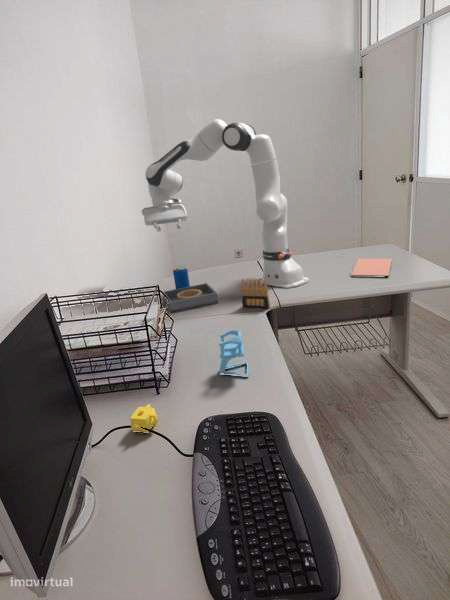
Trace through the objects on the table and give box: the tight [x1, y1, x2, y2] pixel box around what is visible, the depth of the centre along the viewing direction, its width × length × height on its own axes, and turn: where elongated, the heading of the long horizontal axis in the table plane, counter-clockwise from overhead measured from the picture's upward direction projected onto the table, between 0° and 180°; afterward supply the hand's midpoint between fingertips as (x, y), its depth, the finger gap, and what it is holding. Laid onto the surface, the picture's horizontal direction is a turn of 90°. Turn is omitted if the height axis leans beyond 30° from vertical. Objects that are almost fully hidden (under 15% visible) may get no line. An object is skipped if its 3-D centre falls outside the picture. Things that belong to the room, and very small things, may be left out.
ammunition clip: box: [241, 278, 271, 310], centre depth 157 cm, size 11×2×12 cm, turn 69°
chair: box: [218, 330, 250, 375], centre depth 112 cm, size 8×8×12 cm
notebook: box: [348, 258, 393, 278], centre depth 190 cm, size 27×17×2 cm, turn 156°
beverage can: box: [172, 265, 191, 289], centre depth 184 cm, size 6×6×12 cm
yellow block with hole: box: [129, 404, 159, 432], centre depth 93 cm, size 8×6×5 cm
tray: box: [162, 282, 219, 314], centre depth 172 cm, size 16×20×4 cm
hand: (169, 229), depth 188 cm, fingers open, 8 cm apart
